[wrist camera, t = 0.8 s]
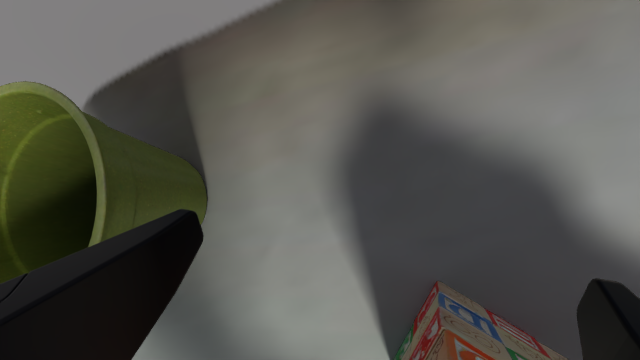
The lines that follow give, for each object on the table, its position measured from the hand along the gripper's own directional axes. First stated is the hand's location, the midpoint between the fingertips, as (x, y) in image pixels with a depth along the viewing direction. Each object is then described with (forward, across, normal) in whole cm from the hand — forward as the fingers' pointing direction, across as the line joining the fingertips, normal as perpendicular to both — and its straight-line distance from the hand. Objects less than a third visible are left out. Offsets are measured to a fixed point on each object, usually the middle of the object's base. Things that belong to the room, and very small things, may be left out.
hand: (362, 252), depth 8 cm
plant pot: (+12, +18, +10) cm, 23 cm away
